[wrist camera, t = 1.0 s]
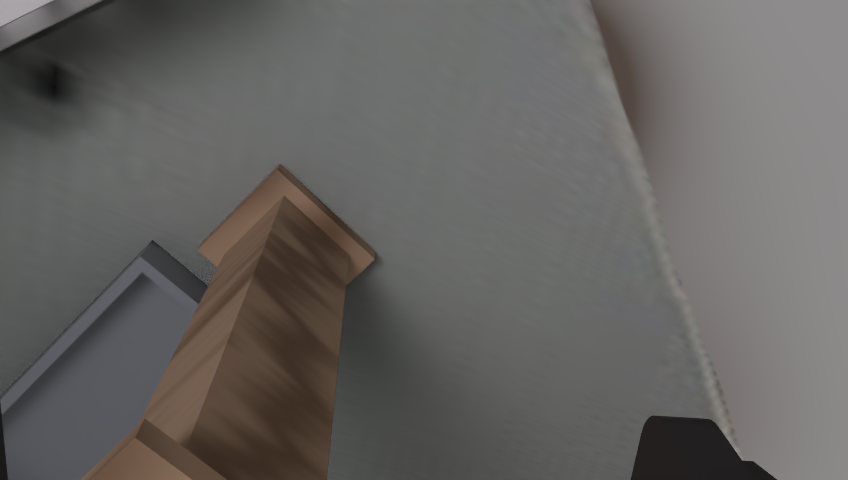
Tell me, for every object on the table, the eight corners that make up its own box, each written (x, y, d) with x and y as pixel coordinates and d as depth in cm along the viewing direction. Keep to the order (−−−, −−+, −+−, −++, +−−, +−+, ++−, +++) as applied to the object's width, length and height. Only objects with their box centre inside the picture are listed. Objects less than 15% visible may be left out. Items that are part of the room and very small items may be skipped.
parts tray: (-50, 448, 59) (-72, 473, 56) (152, 240, 54) (140, 256, 51) (101, 549, 63) (88, 577, 60) (301, 364, 58) (298, 385, 55)
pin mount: (158, 275, 55) (-106, 666, 25) (274, 158, 52) (134, 437, 23) (265, 363, 58) (143, 808, 28) (380, 256, 55) (380, 618, 25)
